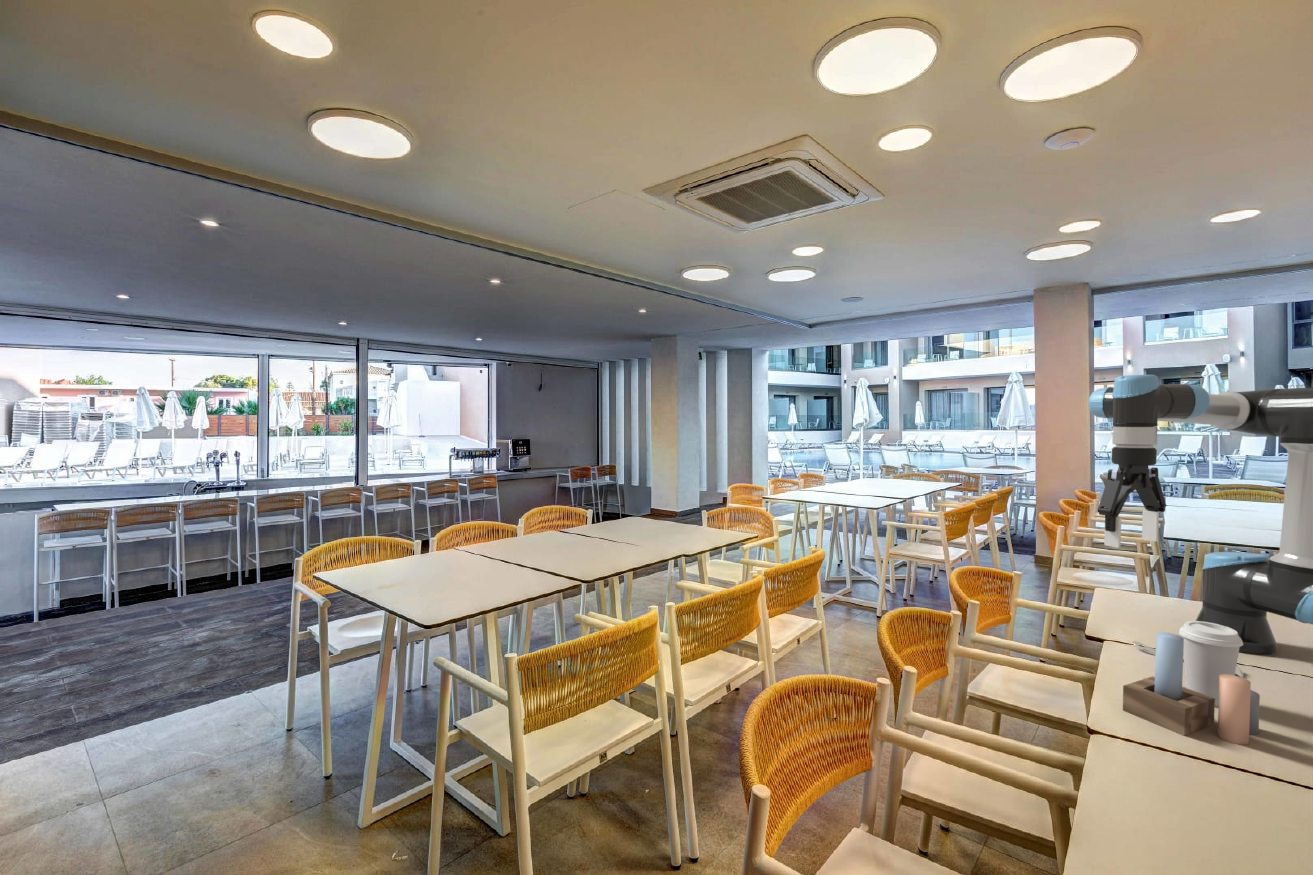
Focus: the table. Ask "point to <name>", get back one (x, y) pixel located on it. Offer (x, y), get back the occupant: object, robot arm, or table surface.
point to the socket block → (1169, 707)
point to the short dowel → (1254, 712)
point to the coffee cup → (1208, 655)
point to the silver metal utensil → (1152, 651)
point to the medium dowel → (1234, 709)
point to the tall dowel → (1169, 665)
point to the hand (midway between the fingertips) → (1131, 543)
